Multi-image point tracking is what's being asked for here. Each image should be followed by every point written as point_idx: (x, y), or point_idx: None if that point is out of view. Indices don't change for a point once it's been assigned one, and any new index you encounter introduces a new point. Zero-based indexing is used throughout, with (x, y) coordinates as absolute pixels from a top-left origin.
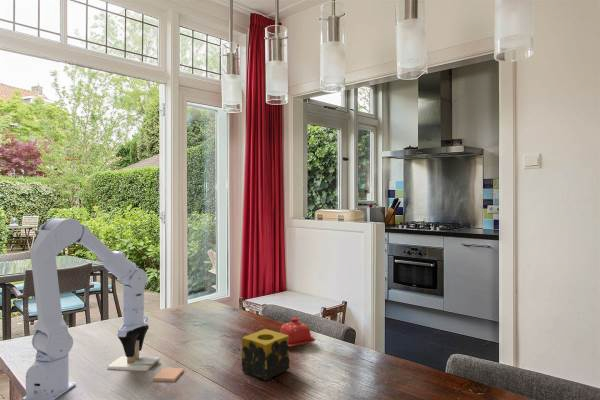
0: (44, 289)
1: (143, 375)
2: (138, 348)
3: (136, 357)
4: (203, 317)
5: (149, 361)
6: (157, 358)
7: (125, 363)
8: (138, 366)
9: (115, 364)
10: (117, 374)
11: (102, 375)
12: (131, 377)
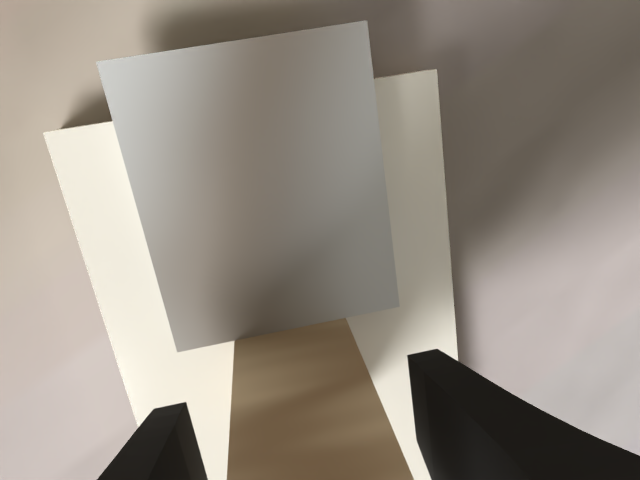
0: None
1: (556, 27)
2: (255, 426)
3: (315, 342)
4: None
5: (309, 124)
6: (167, 70)
7: None
8: (425, 203)
9: (413, 475)
10: (552, 324)
11: (582, 430)
12: (613, 136)
